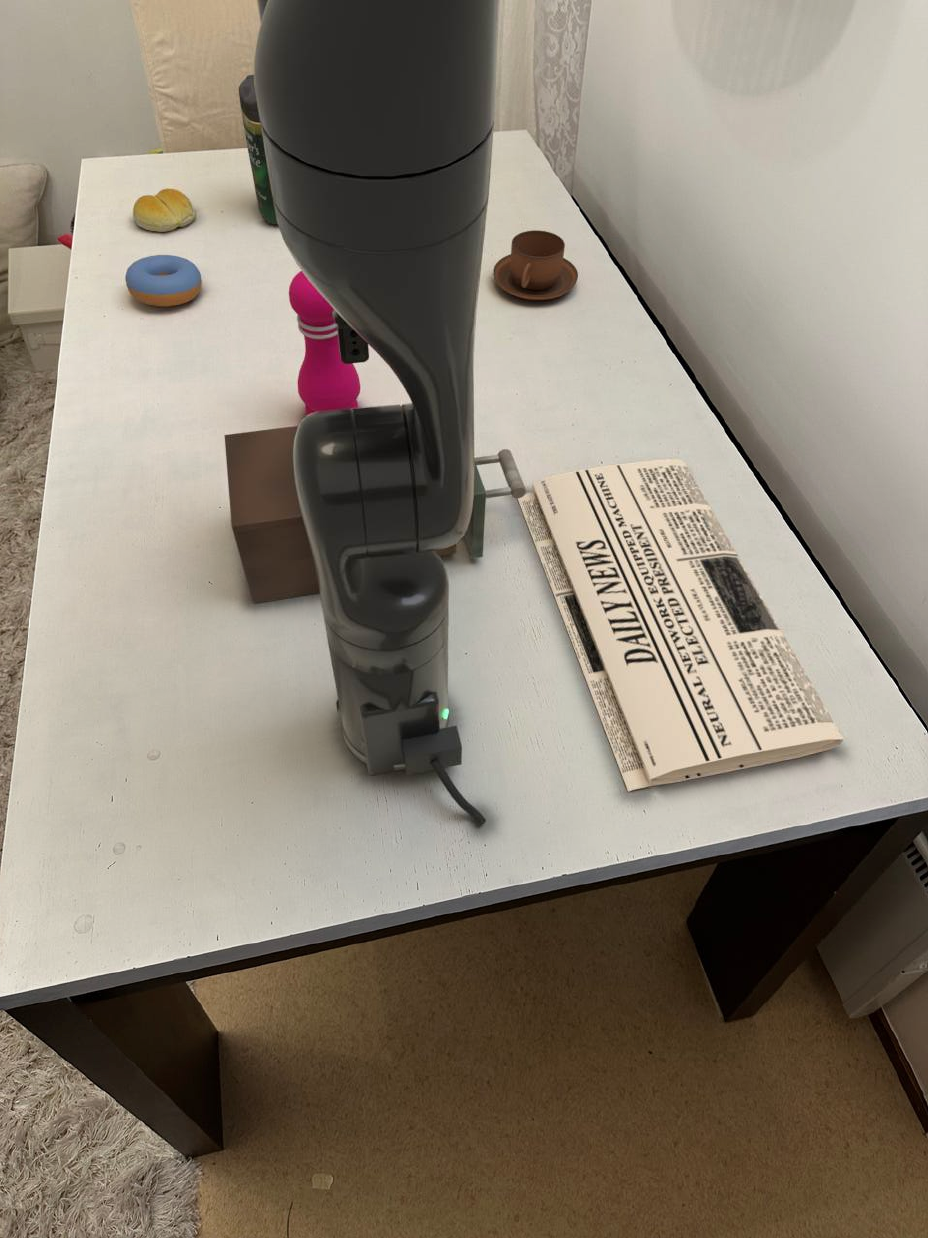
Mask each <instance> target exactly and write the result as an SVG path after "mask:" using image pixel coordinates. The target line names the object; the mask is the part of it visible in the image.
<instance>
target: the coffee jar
mask: <svg viewBox="0 0 928 1238" xmlns="http://www.w3.org/2000/svg"><path fill="white" fill-rule="evenodd" d="M238 97H239V106H240V112H241V118H242V124H243V129H244V136H245V141H246V147H247V153H248V159H249V165H250V169H251V173H252V179H253V184H254V185H253V186H254V191H255V192H254V193H255V197H256V201H257V206H258V210H259V212H260V215H261V216H262V217H263V219H264V220H265V221H266V222H267V223H269V224H272V225H278V223H277V219H276V213H275V207H274V202H273V197H272V191H271V185H270V179H269V173H268V167H267V161H266V155H265V148H264V142H263V136H262V130H261V124H260V117H259V112H258V105H257V99H256V92H255V85H254V74H249V75H247V76H246V77H245V78H244V79H243V80H242V81H241V83H240V84H239V86H238Z"/></svg>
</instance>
